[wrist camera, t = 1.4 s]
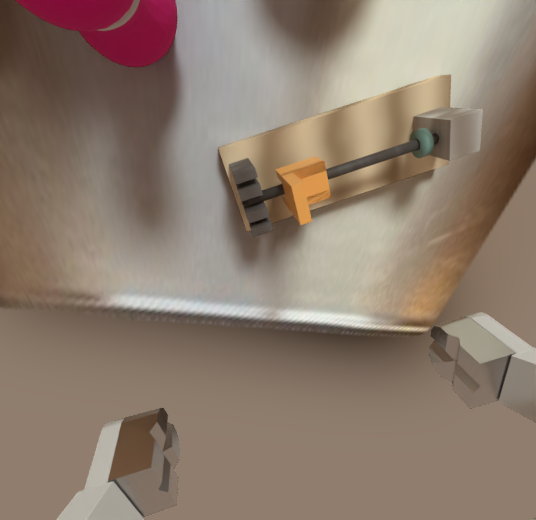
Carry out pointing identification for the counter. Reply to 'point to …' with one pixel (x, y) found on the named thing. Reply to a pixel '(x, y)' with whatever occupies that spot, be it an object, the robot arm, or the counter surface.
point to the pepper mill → (115, 26)
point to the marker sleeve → (304, 186)
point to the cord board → (353, 148)
